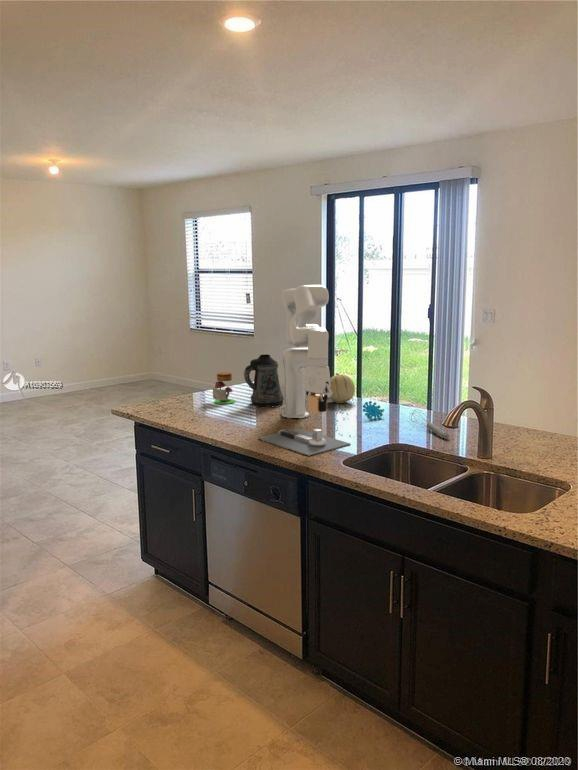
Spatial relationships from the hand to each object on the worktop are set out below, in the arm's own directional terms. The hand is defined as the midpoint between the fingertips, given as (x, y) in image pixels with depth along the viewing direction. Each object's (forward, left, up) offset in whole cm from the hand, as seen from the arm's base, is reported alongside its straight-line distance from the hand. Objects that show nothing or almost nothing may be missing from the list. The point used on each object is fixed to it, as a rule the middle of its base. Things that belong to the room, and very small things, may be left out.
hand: (317, 409), depth 226 cm
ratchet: (-9, 0, -14) cm, 17 cm away
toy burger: (-88, +18, -15) cm, 91 cm away
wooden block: (0, 0, -1) cm, 1 cm away
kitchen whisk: (+14, +53, -15) cm, 56 cm away
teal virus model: (-15, +50, -15) cm, 54 cm away
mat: (-8, 0, -15) cm, 17 cm away
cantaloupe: (-47, +61, -15) cm, 79 cm away
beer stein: (-69, +30, -15) cm, 77 cm away
